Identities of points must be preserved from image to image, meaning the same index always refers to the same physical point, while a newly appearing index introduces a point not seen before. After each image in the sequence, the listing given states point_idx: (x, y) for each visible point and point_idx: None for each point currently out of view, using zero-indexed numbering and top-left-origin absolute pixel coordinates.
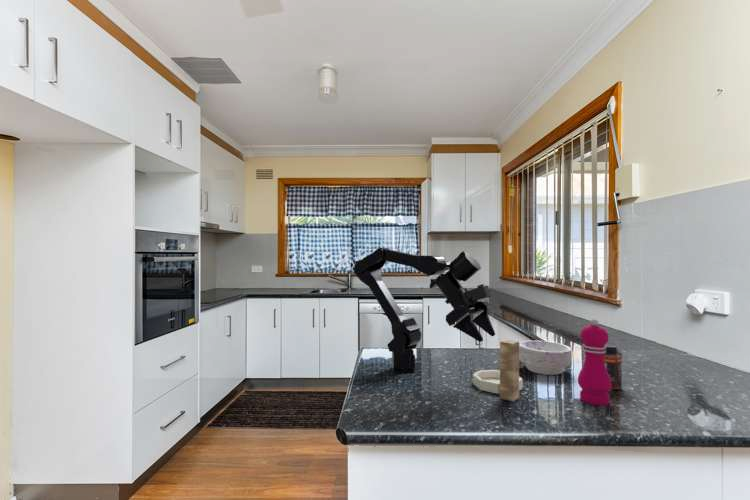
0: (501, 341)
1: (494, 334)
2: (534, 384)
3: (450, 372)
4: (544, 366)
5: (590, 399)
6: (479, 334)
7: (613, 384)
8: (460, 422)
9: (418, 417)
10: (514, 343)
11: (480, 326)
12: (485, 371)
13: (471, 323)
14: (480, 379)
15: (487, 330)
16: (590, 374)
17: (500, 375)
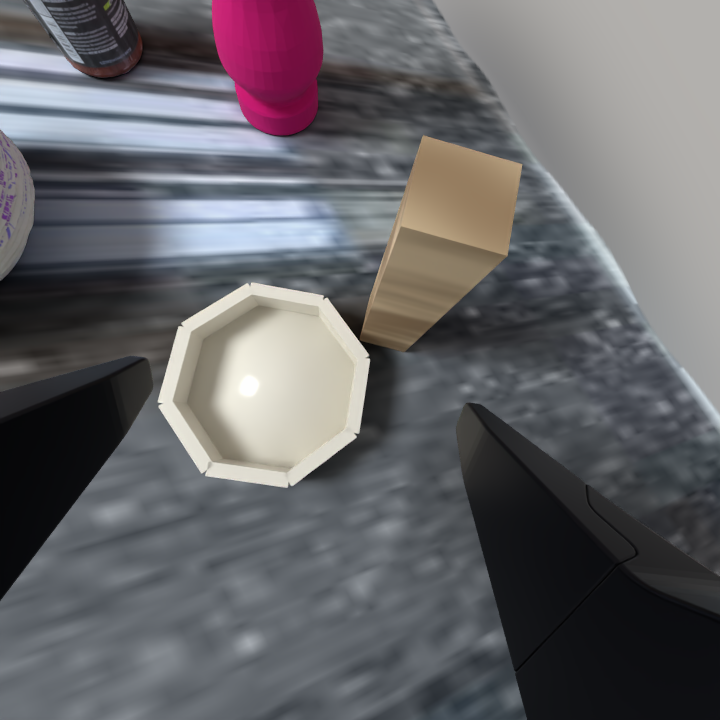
0: (495, 246)
1: (149, 362)
2: (189, 263)
3: (169, 636)
4: (30, 204)
5: (316, 103)
6: (519, 433)
7: (133, 21)
8: (650, 415)
9: (697, 539)
10: (502, 159)
11: (26, 554)
12: (203, 447)
13: (693, 565)
14: (347, 436)
15: (102, 440)
16: (309, 10)
17: (426, 329)
